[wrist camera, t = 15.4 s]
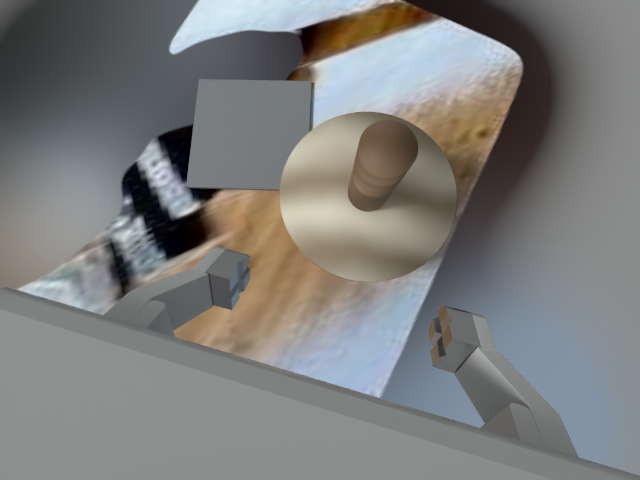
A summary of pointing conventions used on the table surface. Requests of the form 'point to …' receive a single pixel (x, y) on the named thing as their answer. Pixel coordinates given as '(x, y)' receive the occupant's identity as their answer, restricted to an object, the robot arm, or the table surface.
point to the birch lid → (368, 196)
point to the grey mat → (246, 132)
